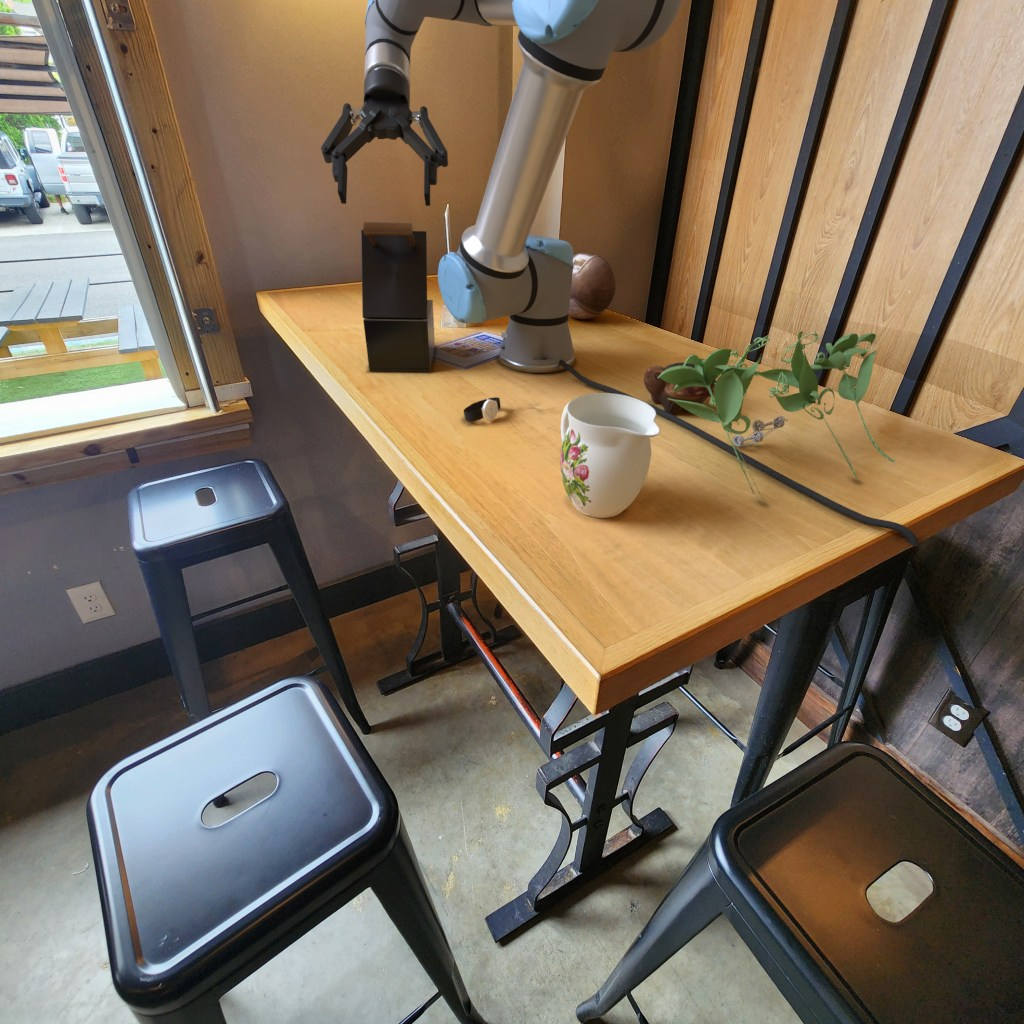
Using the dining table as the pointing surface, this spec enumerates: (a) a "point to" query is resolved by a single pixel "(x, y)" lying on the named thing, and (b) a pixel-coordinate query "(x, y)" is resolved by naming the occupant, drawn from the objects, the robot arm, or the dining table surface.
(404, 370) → the open box
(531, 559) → the dining table surface
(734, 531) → the dining table surface
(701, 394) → the decorative turtle
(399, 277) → the bacon press
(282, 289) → the dining table surface
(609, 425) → the pitcher
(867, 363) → the plant cuttings
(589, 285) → the wooden sphere
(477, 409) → the watch
